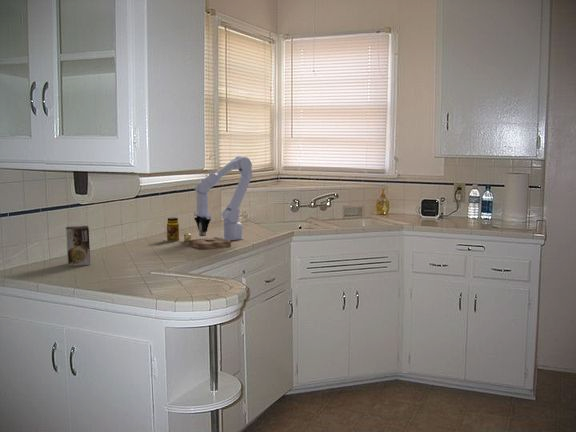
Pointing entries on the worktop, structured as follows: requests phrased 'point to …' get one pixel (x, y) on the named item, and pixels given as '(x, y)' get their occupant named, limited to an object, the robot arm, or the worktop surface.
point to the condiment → (172, 230)
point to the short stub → (187, 237)
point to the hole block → (209, 243)
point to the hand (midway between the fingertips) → (202, 231)
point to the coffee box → (78, 245)
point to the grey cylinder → (201, 230)
